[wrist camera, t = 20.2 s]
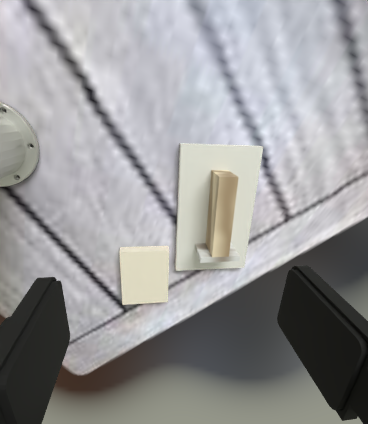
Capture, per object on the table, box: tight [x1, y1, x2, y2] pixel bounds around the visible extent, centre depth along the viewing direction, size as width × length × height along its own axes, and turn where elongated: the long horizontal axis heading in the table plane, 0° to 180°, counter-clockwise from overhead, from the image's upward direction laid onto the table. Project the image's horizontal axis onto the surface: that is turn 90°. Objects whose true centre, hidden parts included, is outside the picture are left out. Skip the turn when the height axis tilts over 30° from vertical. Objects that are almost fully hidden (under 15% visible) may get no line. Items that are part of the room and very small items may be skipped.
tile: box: [120, 246, 169, 305], centre depth 48 cm, size 9×2×12 cm
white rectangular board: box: [175, 143, 263, 271], centre depth 45 cm, size 14×24×2 cm, turn 177°
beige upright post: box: [195, 170, 240, 263], centre depth 42 cm, size 7×15×5 cm, turn 178°
